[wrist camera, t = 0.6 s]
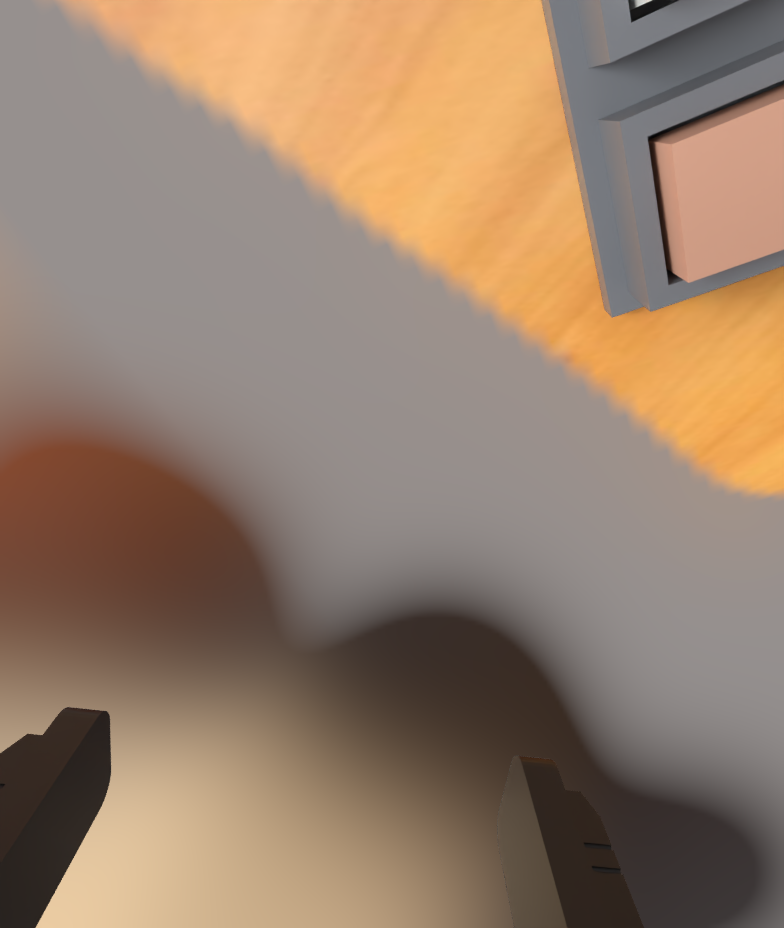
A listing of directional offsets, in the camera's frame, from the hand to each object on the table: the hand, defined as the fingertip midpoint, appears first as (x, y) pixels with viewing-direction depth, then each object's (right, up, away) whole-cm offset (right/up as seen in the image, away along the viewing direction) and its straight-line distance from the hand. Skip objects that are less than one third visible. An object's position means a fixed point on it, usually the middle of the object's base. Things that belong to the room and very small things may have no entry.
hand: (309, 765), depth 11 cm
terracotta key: (+17, +19, +15) cm, 30 cm away
